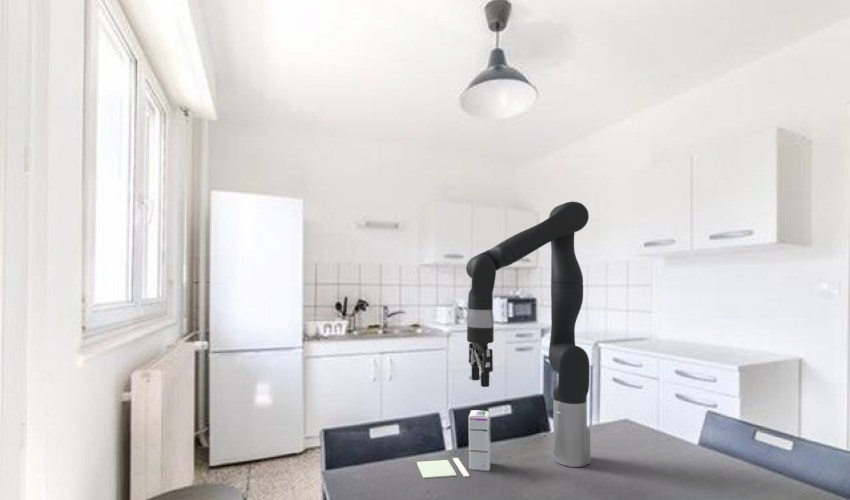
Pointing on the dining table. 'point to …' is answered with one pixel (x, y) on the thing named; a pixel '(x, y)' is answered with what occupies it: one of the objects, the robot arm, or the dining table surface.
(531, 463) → the dining table surface
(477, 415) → the syrup box
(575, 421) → the robot arm
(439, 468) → the mat
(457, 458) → the white line strip
